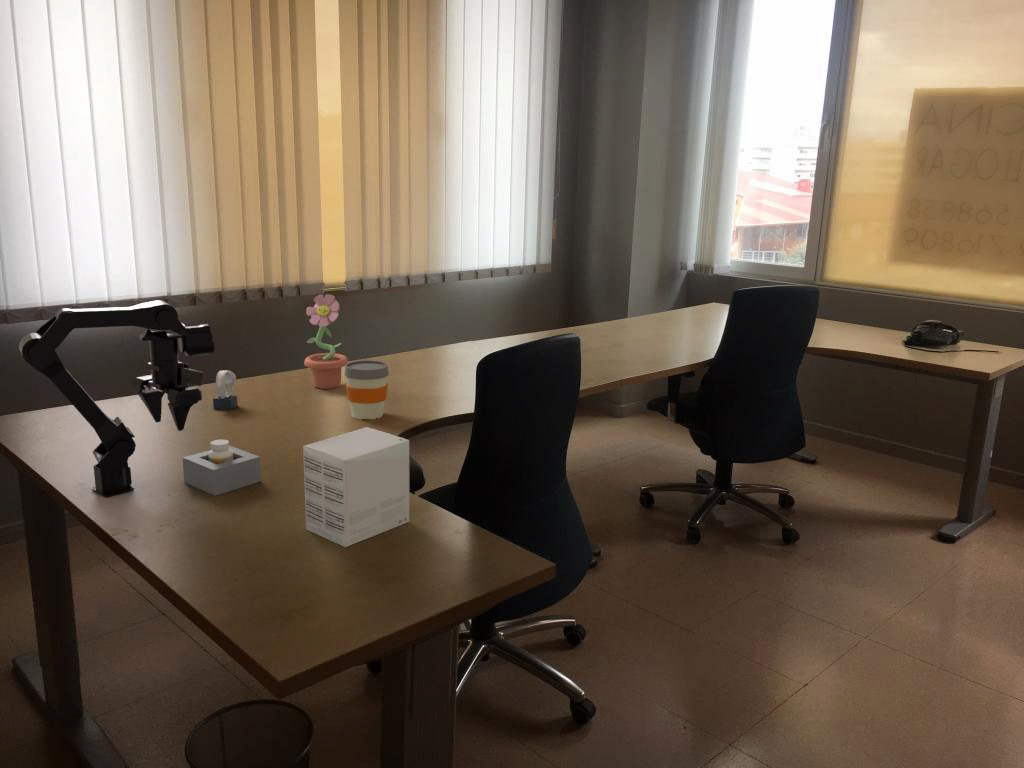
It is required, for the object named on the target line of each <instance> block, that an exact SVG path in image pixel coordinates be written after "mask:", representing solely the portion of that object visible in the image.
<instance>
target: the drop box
mask: <svg viewBox="0 0 1024 768" xmlns="http://www.w3.org/2000/svg"><path fill="white" fill-rule="evenodd" d="M228 449H230V450H232V452H233V460H231V461H228V462H224V463H221V464H214V463H212V462H209V461H208V454H209V452H210V451H211V450H212V449H210V450H209V449H208V450H206V451H202V452H199V453H194V454H190V455H187V456H183V457H182V468H183V483H185V484H186V485H189V486H192V487H194V488H196V489H199V490H200V491H203V492H205V493H208V494H209V495H212V496H215V497H216V496H218V495H223V494H225V493H229V492H232V491H235V490H238V489H241V488H244V487H247V486H252V485H254V484H256V483H259V482H261V481H262V479H261V478H262V477H261V457H260V456H259V455H256V454H253V453H250V452H248V451H245V450H243V449H240V448H238V447H234V446H231V445H229V448H228Z"/></svg>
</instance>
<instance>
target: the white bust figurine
mask: <svg viewBox="0 0 1024 768" xmlns="http://www.w3.org/2000/svg"><path fill="white" fill-rule="evenodd" d="M215 377H216V378H215V390H216V396H215V397H213V398H212V403H213V406H212V407H213V410H228V409H230V410H233V408H234V407H235V408H236V407H238V395H233V394H232V393H233V390H234V386H235V384H236V383H235V382H236V380H237V376H236V374H235V373H234V372H233V371H231V370H227V369H225V370H219V371H217V374H216V376H215ZM235 408H234V409H235Z"/></svg>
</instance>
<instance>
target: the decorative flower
mask: <svg viewBox="0 0 1024 768" xmlns="http://www.w3.org/2000/svg"><path fill="white" fill-rule="evenodd" d="M313 302H314V303H315V304H314V306H308V307H307V308H306V312H305V313H306V315H307V317H311V318H310V319H309V323H310V324H311V325H313V326H317V325H318V327H319V328H318V331H317V334H316V337H311V338H309V339H308V340H307V341H306V343H307V344H312V343H314V342H315V343H316V346H317V347H319V348H320V349H322V350H326V351H329V352H326V353H325V352H323V353H315V354H311V355H309V356H307V357H306V358H305V359H304V366H305V367H307V368H310V369H311V376H312V383H313V386H314V387H315V388H317V389H319V388H320V390H332V389H336V388H338V387H340V385H341V383H342V368H343V367H344V368H345V365H346V364H347V363H349V360H348V357H347V356H346V355H344V354H341V353H336V348H338V347H340V345H341V344H342V342H340V343H339V342H338V343H337V344H335V345H332V344H328V343H324V342H322V338H323V335H324V333H325V334H326V335H327V336H329V337H330V338H332V337H333V336H332V333H331V331H330V329H329V328H328V327H327V326H329V325H330V324H332V323H334V322H335V321H337V319H338V317H339V311H340V304H339V301H337V300H336V297H335V295H333V294H329V293H328V294H327V293H326V294H325V295H323V294H318V295H316V296H315V297H314V298H313Z"/></svg>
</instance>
